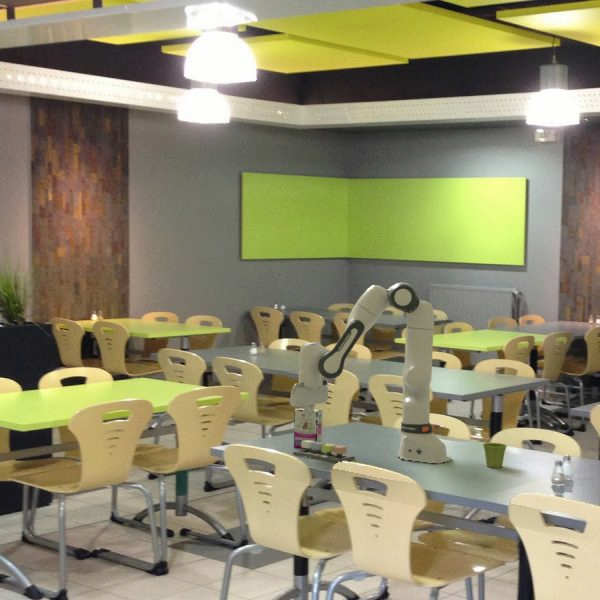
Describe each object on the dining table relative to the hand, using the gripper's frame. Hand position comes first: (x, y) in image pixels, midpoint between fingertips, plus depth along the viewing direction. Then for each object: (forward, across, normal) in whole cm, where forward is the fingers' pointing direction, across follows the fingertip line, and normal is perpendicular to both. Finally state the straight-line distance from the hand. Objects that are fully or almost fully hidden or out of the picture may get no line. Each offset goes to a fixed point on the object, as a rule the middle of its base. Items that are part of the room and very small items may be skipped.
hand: (308, 415), depth 457 cm
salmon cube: (+14, 0, -17) cm, 22 cm away
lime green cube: (+14, 0, -11) cm, 18 cm away
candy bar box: (+16, +10, +9) cm, 21 cm away
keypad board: (+16, 0, -8) cm, 18 cm away
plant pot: (+16, +34, -68) cm, 77 cm away
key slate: (+14, 0, -6) cm, 15 cm away
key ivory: (+14, 0, 0) cm, 14 cm away
